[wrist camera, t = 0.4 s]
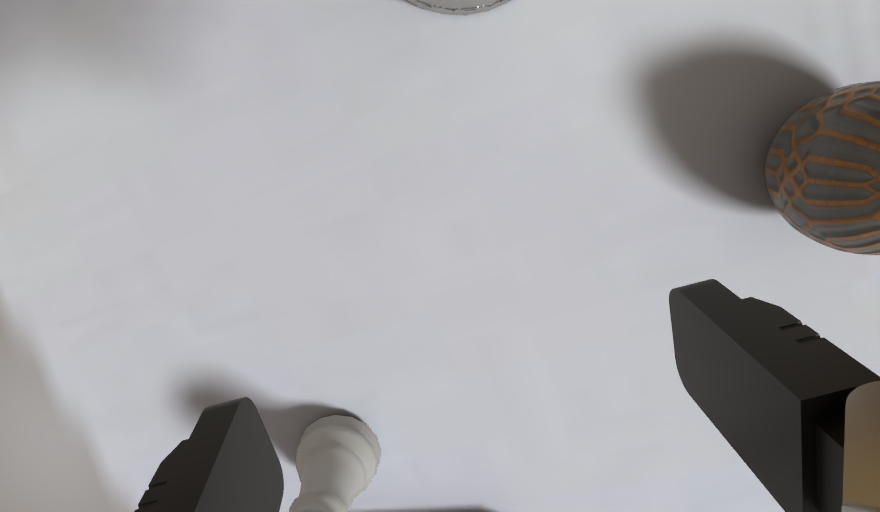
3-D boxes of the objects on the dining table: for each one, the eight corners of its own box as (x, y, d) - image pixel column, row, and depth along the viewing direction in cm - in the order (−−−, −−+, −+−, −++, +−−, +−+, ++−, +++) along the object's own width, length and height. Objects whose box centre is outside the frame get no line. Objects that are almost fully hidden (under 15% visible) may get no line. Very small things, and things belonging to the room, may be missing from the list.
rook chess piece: (284, 448, 32) (231, 561, 24) (335, 394, 31) (297, 493, 23) (347, 495, 33) (315, 619, 25) (399, 443, 32) (382, 556, 24)
